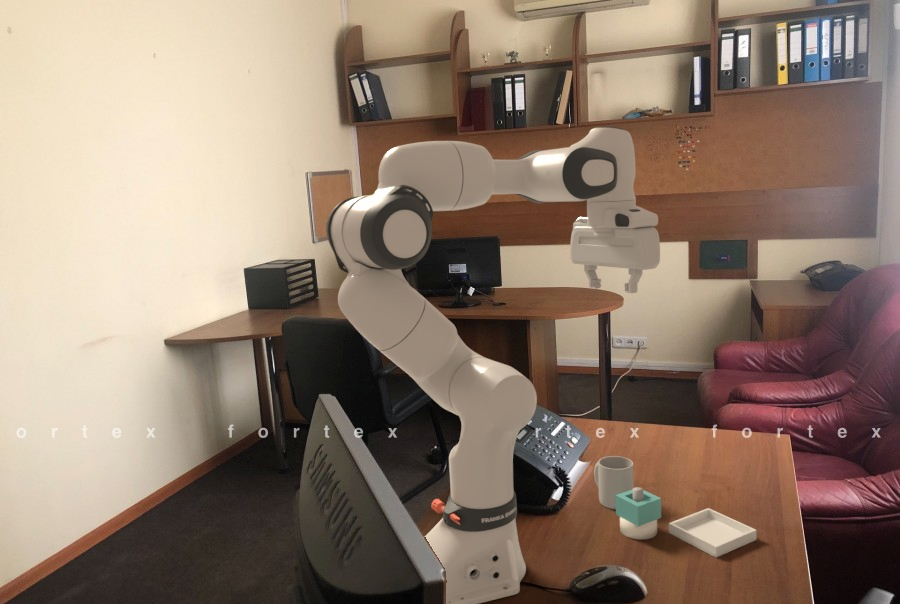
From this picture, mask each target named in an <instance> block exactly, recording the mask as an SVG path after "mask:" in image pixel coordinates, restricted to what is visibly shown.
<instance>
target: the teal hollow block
mask: <svg viewBox="0 0 900 604" xmlns="http://www.w3.org/2000/svg"><path fill="white" fill-rule="evenodd" d="M615 496H616V509H615V516H618V517H619V518H620V517H621V518H623V519H625V520H627V521H629V522H631V523H633V524H634V525H636V526H641V525H643V524H646V523H649V522H651V521H654V520H657V521H658V520H659V519H661V518H662V497H660V496H658V495H655V494H653V493H652V492H649V491H647V490H644V489H643V501H641V502H636V501H634V500H633V489H632V490H629V491H626V492H623V493H621V494H618V495H615Z"/></svg>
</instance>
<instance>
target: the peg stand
mask: <svg viewBox="0 0 900 604" xmlns="http://www.w3.org/2000/svg"><path fill="white" fill-rule="evenodd" d="M643 490H644V488H643V487H634V488H633V500H634V501H636V502H641V501H643ZM619 532H620V533H621V534H622V535H623V536H625V537H626V538H629V539H633V540H643V541H644V540H649V539H652V538H654V537H656V536H657V534H658V519H657V520H654V521H651V522H649V523H646V524H643V525H641V526H636V525H634V524H633V523H631V522H629V521H627V520H625V519H623V518H621V517H620V516H619Z"/></svg>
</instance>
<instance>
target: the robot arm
mask: <svg viewBox="0 0 900 604" xmlns="http://www.w3.org/2000/svg"><path fill="white" fill-rule="evenodd" d="M635 153H636V152H635V145H634V141H633V138H632V135H631V133H630V132H629V131H627V130H626V129H624V128H622V127H617V126H597V127H593V128H592V129H590V130H589V132H588V134H587V135H586V136H585V137H583V138H582V139H581V140H579V141H577V142H575V143H573V144H571V145H570V146H568V147H567V146H566V147H560V148H551V149H535V150H532V151H529V152H527V153H525V154H524V155H521V156H520V157H518V158H516V159H494V158H493V157H492V154H491V153H490V152H489V151H488V149H487V148H486V147H485V146H483V145H480V144H475V143H472V142H467V141H460V140H428V141H418V142H413V143H406V144H402V145H397V146H395V147H393V148H392V147H391V149H389V150H387V152H386V153H385V154H384V155H383V157H382V159H381V161H380V164H379V167H378V172H377V173H378V185H377V188H376V189H375V191H374V192H373V194H369V195H366V194H365V195H362V196H352V197H349V198H346V199H344V200H343V201H341V202H339V203H338V204H337V205H336V206H335V207H334V208H333V209H332V210H331V211H330V213H329V215H328V217H327V220H326V225H325V230H326V237H327V241H328V243H329V245H330V248H331V250H332V252H333V254H334V256H335V261H336V263H337V266H338V268H339V269H340V271H342V272H345V273H346V274H347V275H346V278H345V279H343V281H342V283H341V285H340V287H339V291H338V294H337V305H338V307H339V310H340V312H341V313H342V314H343V316H344V317H345V318H346V319H347V320H348V322H349V323H350V324H351V325H352V326H353V328H355V330H356V331H357V332H358V333H359V334H360V335H361V336H363V338H364V340H366V341H367V342H368V343H370V344H371V345H372V346H373V347H374V348H375V349H377V350H378V351H379V352H380V353H381V354H383V355H384V356H385V357H386V358H388V359H389V360H390V361H391V362H392V363H394V364H395V365H396V366H397V367H399V368H400V369H401V370H402V371H403V372H405V373H406V374H407V375H408V376H409V377H410V378H412V380H414V382H415V383H416V384H417V385H418V386H419V387H420V388H421V390H423V391H424V393H426V395H428V396H429V397H430V398H431V399H432V400H433V401H434V402H435V403H436V404H438V405H439V407H441V408H442V409H444V410H446V411H447V412H450V413H452V414H454V415H456V416H458V417H459V420H460V422H461V429H460V430H461V431H460V437H459V441H458V443H456V445H454V446H453V448H452V449H451V450H450V453H449V454H448V455H449V456H448V466H449V467H448V468H449V469H448V471H449V483H450V486H449V487H450V493H449V495H448V497H447V501H446V504H445V503H444V502H443V501H442V500H440V498H435V499H434V500H433V501H432V502H431V506H430V507H431V509H432V510H434V511H435V512H436V513H437V514H442V518H441V519H440V520H439V521H438V522H437V524H435V526H433V528H431V530H430V531H428V533H427V534H426V535H424V537H426V539H427V541H428V542H429V544H430V546H431V547H432V549H433V551H434V552H435V554H436V555H437V557H438V558H439V560H440V562H441V563H442V565H443V567H444V568H445V571H446V580H447V583H446V604H482V603H487V602H491V601H494V600H498V599H503V598H506V597H510V596H514V595H518V594H519V593H520V590H521V584H520V583H521V582H522V580H523V579H524V577H525V575H526V572H527V566H526V563H525V560H524V557H523V555H522V551H521V547H520V542H519V536H518V530H517V529H518V528H517V522H516V519H517V517H518V515H517V514H518V507H517V506H518V505H517V495H516V492H515V490H514V463H513V462H514V461H513V459H514V450H515V445H516V440H517V437H518V436H519V432H520V430H522V429H524V427H526V425H528V424H529V422H530V421H531V420H532V419H533V416H534V415H535V412H536V408H537V405H538V404H537V400H538V398H537V391H536V389H535V386H534V385H533V383H532V381H531V380H530V379H529V378H527V377H526V376H525V375H523V373H521V372H519V371H518V370H517V369H515V368H514V367H512V366H510V365H508V364H504V363H502V362H499V361H496V360H493V359H490V358H487V357H484V356H483V355H481V354H479V353H478V352H476V351H474V350H473V349H471V348H470V347H469V346H468V345H466V343H465V342H464V341H463V340H462V338H461V337H460V335H459V334H458V330H457V328H456V326H455V324H454V323H453V322H452V321H451V320H449V319H448V318H447V317H446V316H445V315H444V314H443V313H442V312H441V311H439V309H437V307H435V306H434V305H433V304H432V303H431V302H430V301H428V299H426V298H425V297H424V296H423V295H422V294H421V293H420V292H419V291H417V290H416V289H415V288H413V287H412V286H411V285H410V283H409V282H408V281H407V280H406V278H405V276H404V274H403V272H402V270H403V269H405V268H409V267H411V266H414V265H415V264H417V263H418V262H419V261H421V260H422V259H423V257H424V256H425V255H426V254H427V251H429V250H428V249H429V247H430V244H431V240H432V234H433V232H432V231H433V228H432V227H433V226H432V221H433V218H434V212H447V211H448V212H449V211H461V210H468V209H471V208H472V209H473V208H477V207H480V206H482V205H485V204H486V203H487V202H488V201H489V200H490V199H491V197H492V195H516V196H518V197H520V198H522V199H524V200H527V201H528V202H531V203H534V204H545V203H546V204H547V203H557V202H558V203H560V202H565V203H566V202H567V203H568V202H584V201H586V214H587V216H579V217H577V219H575V220H574V222H573V223H572V231H571V234H570V235H571V236H570V244H569V245H570V247H569V259H570V261H571V262H572V264H575V265H583V267H584V269H583V270H584V272H585V274H586V277H587V279H588V287H589V288H590V289H596V290H597V289H600V288H601V286H602V284H601V283H602V278H599V277H598V274H597V271H596V270H598V266H599V267H606V268H616V269H617V268H618V269H619V268H620V269H627V270H628V275H630V276H629V278H628V282H625V283H624V292H625V293H626V294H636V293H638V284H639V281H640V280H641V278H642V277H643V276H642V275H643V271H647V270H654V269H656V268H657V267H658V265H659V264H660V262H661V242H660V235H659V232H658V229H656V226H658V224H659V215H658V214H657V213H654V212H652V211H650V210H647V209H645V208H643V207H641V206H640V205H639V206H638V205H637V202H636V201H637V198H636V194H635V191H634V190H635V189H634V183H635V179H636V155H635Z"/></svg>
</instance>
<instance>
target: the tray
mask: <svg viewBox="0 0 900 604" xmlns="http://www.w3.org/2000/svg"><path fill="white" fill-rule="evenodd" d="M757 531H758V530H757V529H755V528H754V527H751V526H749V525H747V524H744V523H743V522H741V521H738V520H735V519H734V518H731V517H729V516H727V515H725V514H723V513H720V512H718V511H716V510H714V509H711V508H710V507H708V508H705V509H702V510H700V511H697V512H694V513H691V514H689V515H686V516H684V517H681V518H679V519H677V520H673V521H672V522H669V523H668V534H670V535H672V536H673V537H676V538H678V539H679V540H682V541H684V542H685V543H688V544H689V545H691V546H693V547H695V548H697V549H698V550H700V551H703V552H704V553H707V554H708V555H709V556H711V557H714V558H718V557H721V556H723V555H725V554H728V553H730V552H731V551H734V550H737V549H738V548H741V547H743V546H746V545H748V544H750V543H753V542H754V541H757Z"/></svg>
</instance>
